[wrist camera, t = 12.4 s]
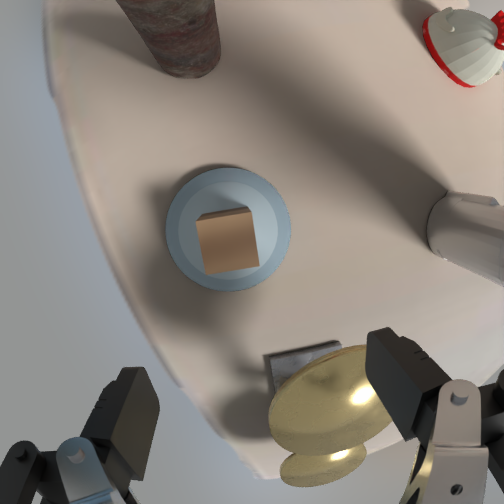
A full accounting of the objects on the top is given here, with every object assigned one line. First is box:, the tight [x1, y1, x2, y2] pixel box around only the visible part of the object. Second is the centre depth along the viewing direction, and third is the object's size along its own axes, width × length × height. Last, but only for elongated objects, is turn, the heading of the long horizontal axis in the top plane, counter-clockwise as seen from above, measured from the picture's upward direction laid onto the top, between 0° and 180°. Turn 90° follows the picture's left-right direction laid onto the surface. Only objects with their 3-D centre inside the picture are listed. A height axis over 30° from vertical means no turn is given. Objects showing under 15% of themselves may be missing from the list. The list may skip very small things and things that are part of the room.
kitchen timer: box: [422, 7, 504, 87], centre depth 20 cm, size 14×14×15 cm
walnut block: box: [195, 206, 260, 275], centre depth 28 cm, size 5×5×6 cm
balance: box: [268, 341, 393, 487], centre depth 31 cm, size 33×13×16 cm, turn 9°
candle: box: [116, 0, 221, 78], centre depth 17 cm, size 8×7×20 cm
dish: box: [165, 168, 291, 291], centre depth 32 cm, size 14×14×1 cm
